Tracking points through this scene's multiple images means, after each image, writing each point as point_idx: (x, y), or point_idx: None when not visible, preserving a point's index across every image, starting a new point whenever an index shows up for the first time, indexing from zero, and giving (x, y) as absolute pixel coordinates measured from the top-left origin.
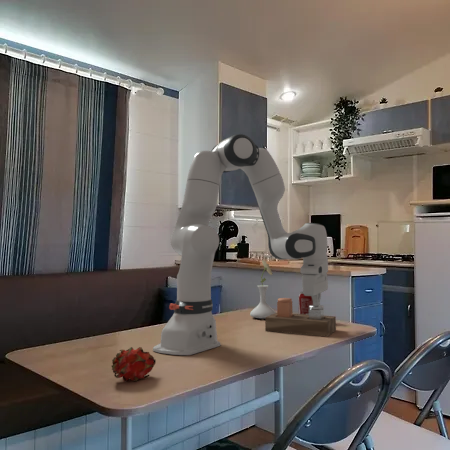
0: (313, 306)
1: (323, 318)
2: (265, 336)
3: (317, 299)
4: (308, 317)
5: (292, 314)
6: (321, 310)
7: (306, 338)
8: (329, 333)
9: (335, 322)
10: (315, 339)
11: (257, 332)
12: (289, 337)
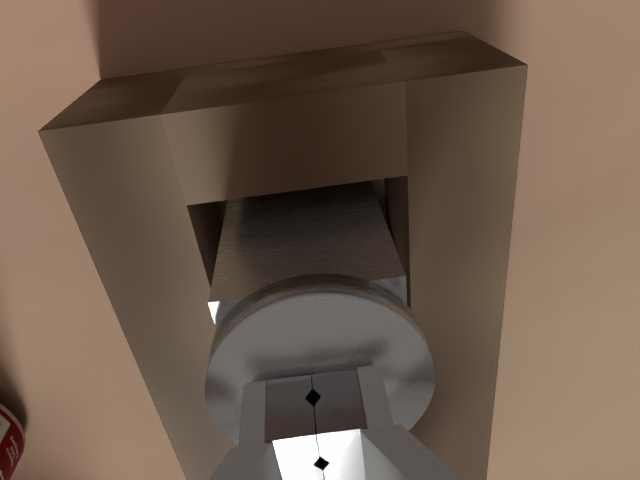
0: (397, 398)
1: (252, 218)
2: (606, 399)
3: (435, 455)
4: None
5: None
6: (355, 273)
7: (601, 168)
8: (384, 45)
9: (82, 103)
10: (624, 85)
11: (504, 471)
12: (597, 283)
